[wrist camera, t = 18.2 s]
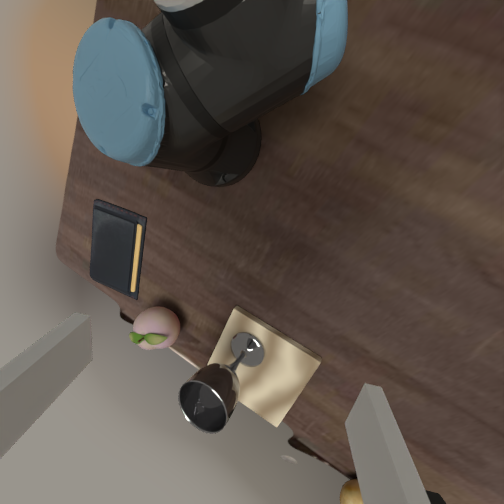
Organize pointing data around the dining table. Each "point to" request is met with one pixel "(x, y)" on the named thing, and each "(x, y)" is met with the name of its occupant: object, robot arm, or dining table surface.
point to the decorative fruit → (155, 328)
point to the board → (267, 366)
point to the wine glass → (218, 386)
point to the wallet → (117, 247)
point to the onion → (351, 493)
